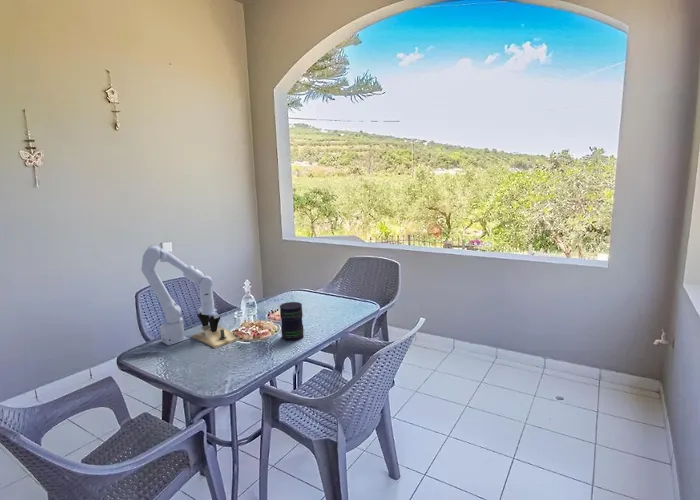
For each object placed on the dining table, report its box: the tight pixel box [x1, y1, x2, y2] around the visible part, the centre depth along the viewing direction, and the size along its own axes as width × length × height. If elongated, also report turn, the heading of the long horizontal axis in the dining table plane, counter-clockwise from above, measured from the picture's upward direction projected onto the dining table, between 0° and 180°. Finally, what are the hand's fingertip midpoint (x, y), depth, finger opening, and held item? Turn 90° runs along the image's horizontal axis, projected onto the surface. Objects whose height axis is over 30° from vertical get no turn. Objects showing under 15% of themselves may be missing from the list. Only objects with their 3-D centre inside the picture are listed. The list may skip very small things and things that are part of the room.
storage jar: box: [279, 301, 305, 342], centre depth 194 cm, size 10×10×15 cm
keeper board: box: [191, 327, 238, 349], centre depth 197 cm, size 14×20×5 cm
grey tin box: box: [198, 324, 222, 337], centre depth 201 cm, size 8×6×3 cm
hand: (210, 330), depth 201 cm, fingers open, 7 cm apart
